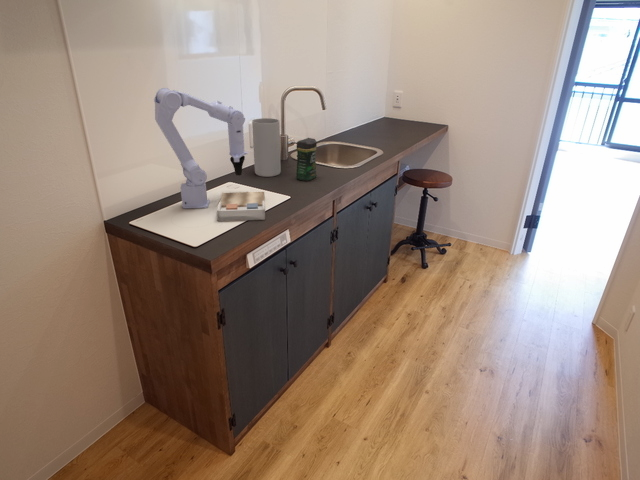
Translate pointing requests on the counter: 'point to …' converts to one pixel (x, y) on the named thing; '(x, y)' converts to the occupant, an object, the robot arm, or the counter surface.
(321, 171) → the counter surface
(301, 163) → the coffee jar
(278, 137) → the cylinder vase
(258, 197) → the oak board
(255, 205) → the slate tile
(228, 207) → the terracotta block
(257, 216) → the box
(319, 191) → the counter surface
